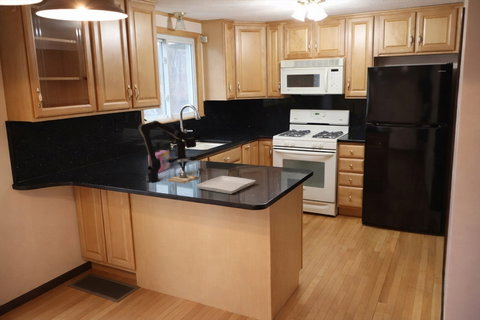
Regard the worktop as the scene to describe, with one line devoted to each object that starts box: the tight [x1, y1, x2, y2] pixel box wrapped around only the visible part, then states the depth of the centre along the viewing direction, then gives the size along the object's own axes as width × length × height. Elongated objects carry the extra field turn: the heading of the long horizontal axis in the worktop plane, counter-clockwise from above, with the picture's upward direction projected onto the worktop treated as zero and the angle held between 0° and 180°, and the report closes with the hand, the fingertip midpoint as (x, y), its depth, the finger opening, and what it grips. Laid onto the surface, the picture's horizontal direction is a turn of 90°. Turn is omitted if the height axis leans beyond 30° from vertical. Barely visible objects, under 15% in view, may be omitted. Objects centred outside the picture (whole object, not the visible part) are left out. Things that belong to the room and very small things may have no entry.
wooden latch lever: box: [178, 168, 188, 178], centre depth 275 cm, size 13×5×3 cm, turn 16°
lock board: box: [167, 174, 199, 184], centre depth 272 cm, size 15×14×2 cm
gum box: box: [147, 149, 171, 174], centre depth 305 cm, size 24×8×14 cm, turn 167°
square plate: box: [195, 175, 256, 195], centre depth 248 cm, size 27×27×4 cm
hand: (183, 171), depth 279 cm, fingers closed
